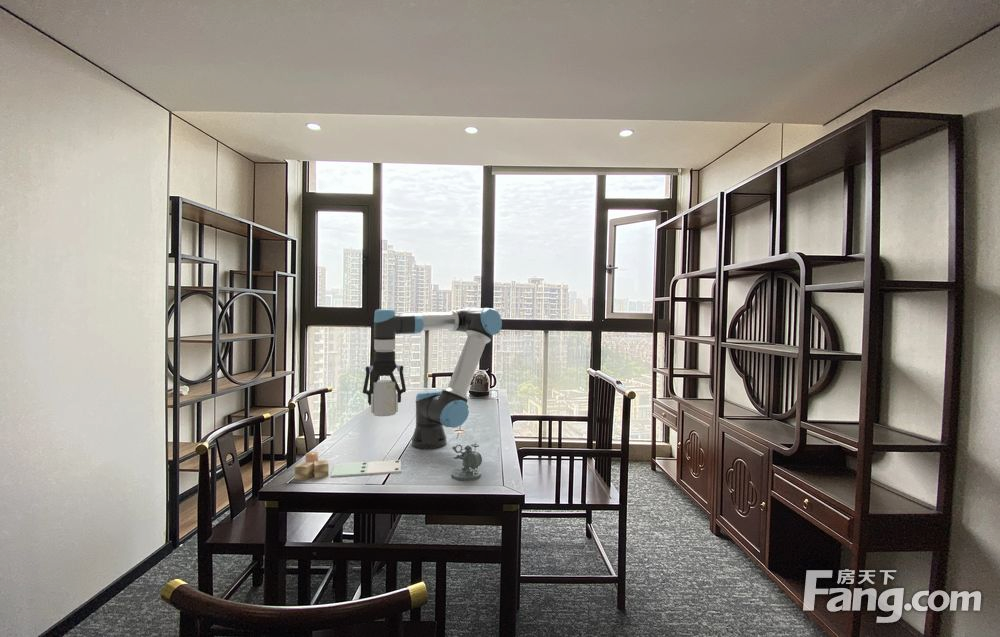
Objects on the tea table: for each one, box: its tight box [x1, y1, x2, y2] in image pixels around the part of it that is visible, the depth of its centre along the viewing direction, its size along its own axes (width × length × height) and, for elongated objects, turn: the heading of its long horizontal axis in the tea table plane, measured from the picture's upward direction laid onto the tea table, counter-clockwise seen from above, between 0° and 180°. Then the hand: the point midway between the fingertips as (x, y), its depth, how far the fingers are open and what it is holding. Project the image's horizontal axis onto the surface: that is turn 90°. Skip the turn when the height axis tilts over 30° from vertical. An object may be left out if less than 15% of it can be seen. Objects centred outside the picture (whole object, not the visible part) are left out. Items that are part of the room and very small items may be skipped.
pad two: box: [366, 459, 402, 476], centre depth 168 cm, size 12×12×1 cm
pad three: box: [330, 461, 370, 478], centre depth 166 cm, size 12×12×1 cm
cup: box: [372, 379, 397, 417], centre depth 167 cm, size 8×8×12 cm
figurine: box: [451, 442, 483, 482], centre depth 161 cm, size 11×11×12 cm
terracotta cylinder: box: [304, 451, 319, 463], centre depth 166 cm, size 4×4×6 cm
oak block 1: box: [294, 461, 314, 481], centre depth 158 cm, size 4×4×4 cm
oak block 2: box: [313, 459, 329, 479], centre depth 161 cm, size 4×4×4 cm
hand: (384, 411), depth 168 cm, fingers closed on cup, 8 cm apart
